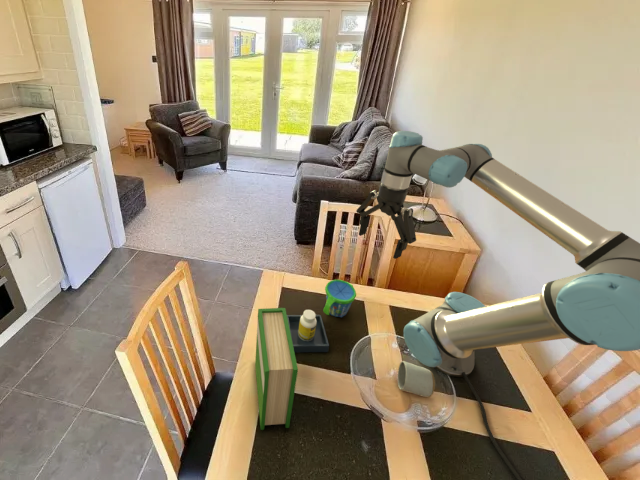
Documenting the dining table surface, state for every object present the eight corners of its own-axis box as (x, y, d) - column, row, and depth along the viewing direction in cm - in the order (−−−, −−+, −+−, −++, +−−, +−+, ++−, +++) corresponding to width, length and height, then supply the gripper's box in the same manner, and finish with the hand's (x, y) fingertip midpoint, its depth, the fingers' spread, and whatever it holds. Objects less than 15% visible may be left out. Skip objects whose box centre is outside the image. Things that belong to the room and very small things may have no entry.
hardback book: (289, 427, 81) (297, 369, 70) (260, 429, 81) (265, 371, 70) (279, 363, 97) (285, 307, 86) (255, 364, 96) (258, 308, 85)
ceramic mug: (430, 404, 88) (438, 387, 84) (399, 396, 90) (406, 379, 86) (422, 369, 97) (429, 352, 94) (394, 362, 99) (400, 346, 95)
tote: (328, 352, 101) (329, 345, 100) (290, 352, 101) (291, 346, 99) (319, 320, 112) (320, 314, 111) (285, 321, 111) (286, 315, 110)
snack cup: (333, 330, 109) (338, 309, 104) (311, 310, 116) (314, 290, 111) (361, 309, 117) (366, 289, 112) (339, 292, 124) (343, 272, 120)
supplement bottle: (310, 344, 103) (313, 323, 98) (295, 336, 105) (298, 316, 101) (316, 332, 107) (320, 312, 102) (302, 325, 109) (305, 305, 105)
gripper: (443, 200, 83) (421, 263, 93) (369, 167, 102) (357, 223, 111) (426, 207, 79) (405, 272, 89) (352, 172, 98) (341, 228, 108)
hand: (378, 245), depth 100 cm, fingers open, 13 cm apart
